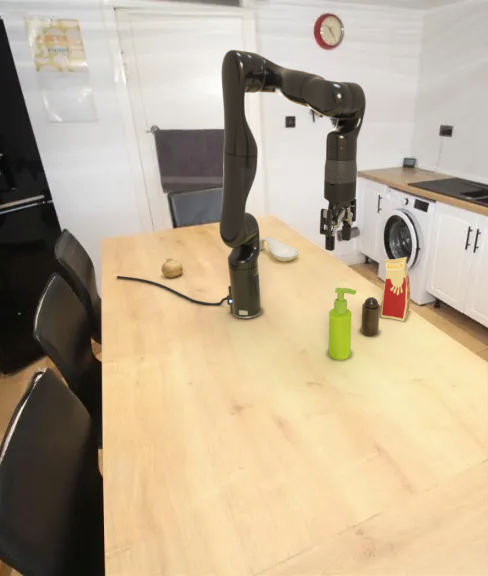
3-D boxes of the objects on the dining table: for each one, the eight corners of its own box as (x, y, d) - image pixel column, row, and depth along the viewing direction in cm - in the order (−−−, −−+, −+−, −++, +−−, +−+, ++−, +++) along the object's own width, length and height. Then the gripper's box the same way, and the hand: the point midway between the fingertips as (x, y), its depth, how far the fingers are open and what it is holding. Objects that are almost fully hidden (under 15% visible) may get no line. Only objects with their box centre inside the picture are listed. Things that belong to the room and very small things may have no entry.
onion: (186, 272, 166) (184, 255, 163) (178, 280, 159) (176, 263, 156) (167, 271, 167) (165, 255, 164) (159, 279, 159) (155, 262, 156)
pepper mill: (358, 333, 123) (359, 299, 118) (365, 325, 128) (367, 292, 123) (374, 338, 121) (376, 303, 116) (380, 330, 125) (383, 296, 120)
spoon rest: (304, 259, 179) (304, 243, 176) (284, 266, 171) (284, 250, 168) (268, 246, 193) (267, 232, 190) (248, 253, 185) (247, 238, 182)
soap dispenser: (352, 361, 110) (354, 295, 102) (327, 358, 112) (327, 293, 103) (354, 349, 116) (357, 285, 107) (330, 346, 117) (331, 283, 108)
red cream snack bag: (409, 308, 138) (415, 252, 129) (405, 321, 130) (411, 263, 121) (382, 304, 140) (386, 249, 132) (376, 316, 133) (380, 259, 124)
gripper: (340, 172, 102) (338, 234, 109) (310, 181, 90) (310, 250, 97) (367, 175, 98) (363, 239, 105) (340, 185, 87) (338, 256, 94)
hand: (338, 244), depth 101 cm, fingers open, 8 cm apart
